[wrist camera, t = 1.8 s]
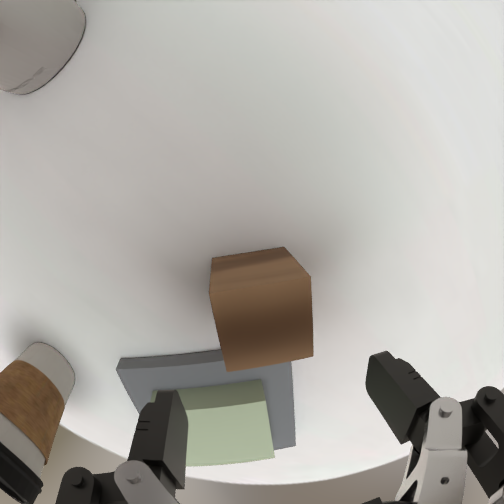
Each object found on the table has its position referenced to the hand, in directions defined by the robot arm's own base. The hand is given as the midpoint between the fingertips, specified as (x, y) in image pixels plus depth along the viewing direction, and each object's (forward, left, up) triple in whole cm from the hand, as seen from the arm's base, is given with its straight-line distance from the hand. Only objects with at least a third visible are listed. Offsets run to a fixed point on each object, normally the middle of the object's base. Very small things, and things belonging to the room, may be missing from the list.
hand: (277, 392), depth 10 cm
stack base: (+11, -5, -10) cm, 16 cm away
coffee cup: (+5, -21, -10) cm, 24 cm away
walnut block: (-1, 0, -10) cm, 10 cm away
